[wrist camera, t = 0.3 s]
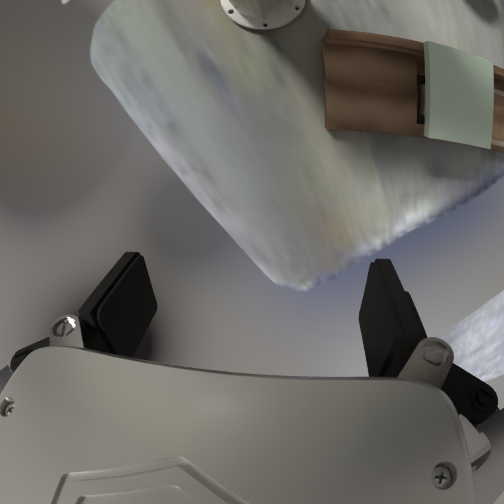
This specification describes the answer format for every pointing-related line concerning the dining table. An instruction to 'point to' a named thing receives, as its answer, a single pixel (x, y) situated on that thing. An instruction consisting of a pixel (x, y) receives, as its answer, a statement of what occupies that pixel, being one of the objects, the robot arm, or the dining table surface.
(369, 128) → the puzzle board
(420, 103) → the beech block
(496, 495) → the robot arm
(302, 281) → the dining table surface
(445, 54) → the sliding cover
